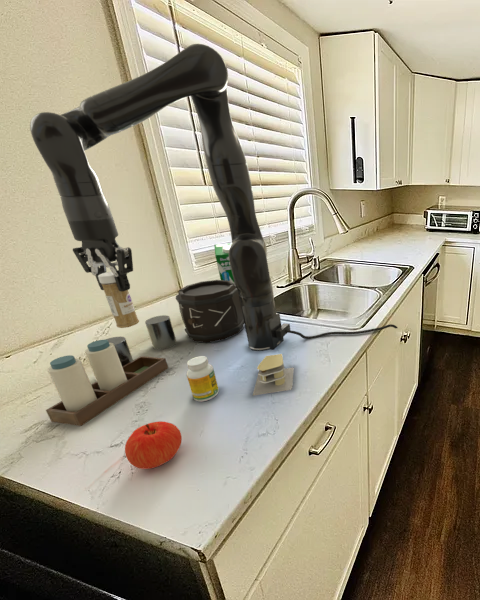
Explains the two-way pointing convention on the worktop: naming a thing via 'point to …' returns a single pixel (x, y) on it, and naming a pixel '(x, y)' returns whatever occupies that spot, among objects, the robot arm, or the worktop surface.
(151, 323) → the grey tins
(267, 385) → the stacked layers on plate
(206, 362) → the supplement bottle
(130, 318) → the sprinkles bottle
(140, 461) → the apple
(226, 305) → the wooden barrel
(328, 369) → the worktop surface
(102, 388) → the off-white bottles
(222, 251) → the milk carton
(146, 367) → the spice rack
